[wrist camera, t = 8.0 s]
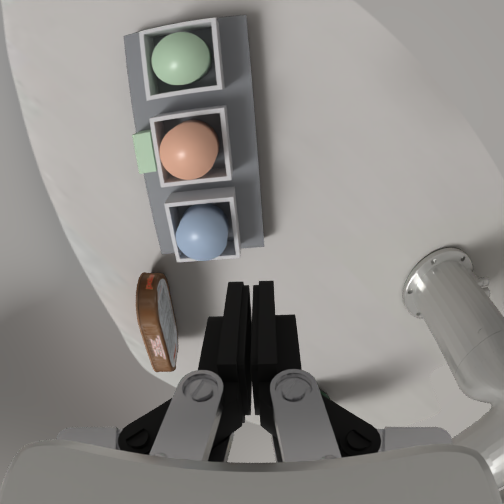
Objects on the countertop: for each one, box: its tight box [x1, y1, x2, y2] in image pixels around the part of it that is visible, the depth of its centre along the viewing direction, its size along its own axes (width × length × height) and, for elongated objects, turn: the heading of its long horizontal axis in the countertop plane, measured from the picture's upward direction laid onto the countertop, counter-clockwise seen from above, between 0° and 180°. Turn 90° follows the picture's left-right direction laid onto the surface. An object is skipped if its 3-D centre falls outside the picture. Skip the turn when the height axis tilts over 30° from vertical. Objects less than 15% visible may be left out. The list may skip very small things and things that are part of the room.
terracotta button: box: [160, 120, 219, 180], centre depth 27 cm, size 5×5×3 cm
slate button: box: [176, 203, 229, 261], centre depth 32 cm, size 5×5×3 cm
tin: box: [136, 272, 178, 372], centre depth 40 cm, size 15×3×8 cm, turn 0°
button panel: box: [124, 15, 264, 262], centre depth 29 cm, size 25×12×5 cm, turn 4°
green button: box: [152, 32, 212, 85], centre depth 24 cm, size 5×5×3 cm
